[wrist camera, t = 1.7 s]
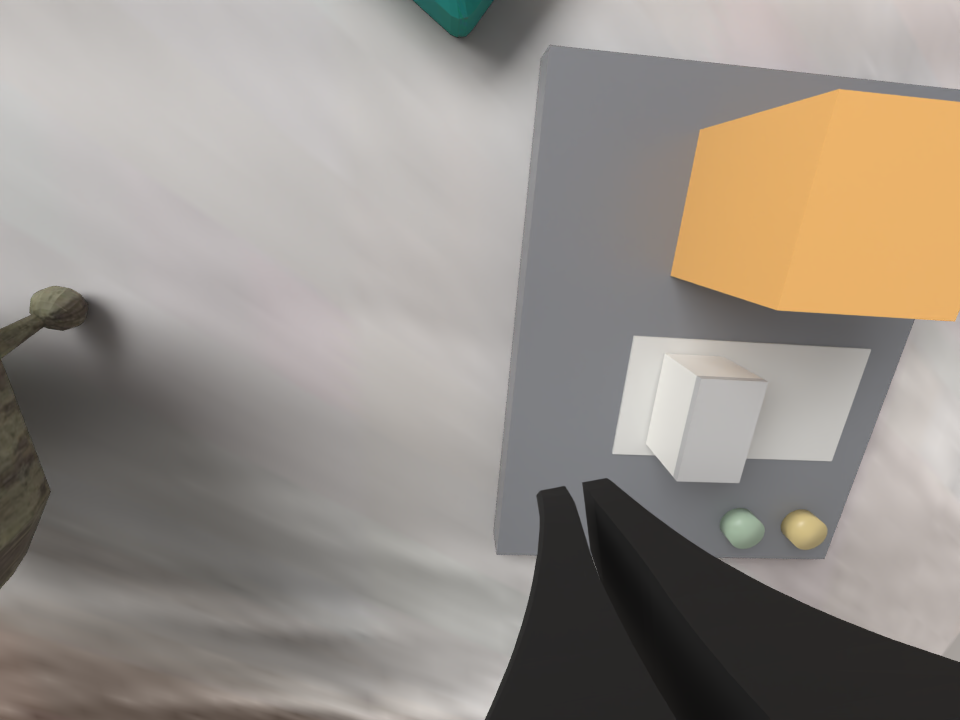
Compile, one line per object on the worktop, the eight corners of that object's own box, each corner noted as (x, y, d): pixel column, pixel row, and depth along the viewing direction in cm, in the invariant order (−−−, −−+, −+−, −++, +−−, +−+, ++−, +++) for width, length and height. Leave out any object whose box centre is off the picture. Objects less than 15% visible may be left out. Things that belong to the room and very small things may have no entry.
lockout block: (835, 142, 16) (1040, 110, 11) (794, 284, 18) (954, 321, 12) (699, 129, 16) (839, 88, 10) (670, 275, 18) (777, 310, 12)
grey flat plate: (955, 102, 18) (1027, 88, 15) (802, 537, 24) (837, 571, 22) (540, 59, 16) (555, 36, 14) (493, 532, 23) (498, 567, 20)
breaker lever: (722, 356, 19) (768, 381, 16) (700, 445, 20) (739, 482, 17) (664, 353, 18) (701, 378, 16) (645, 443, 20) (676, 481, 17)
